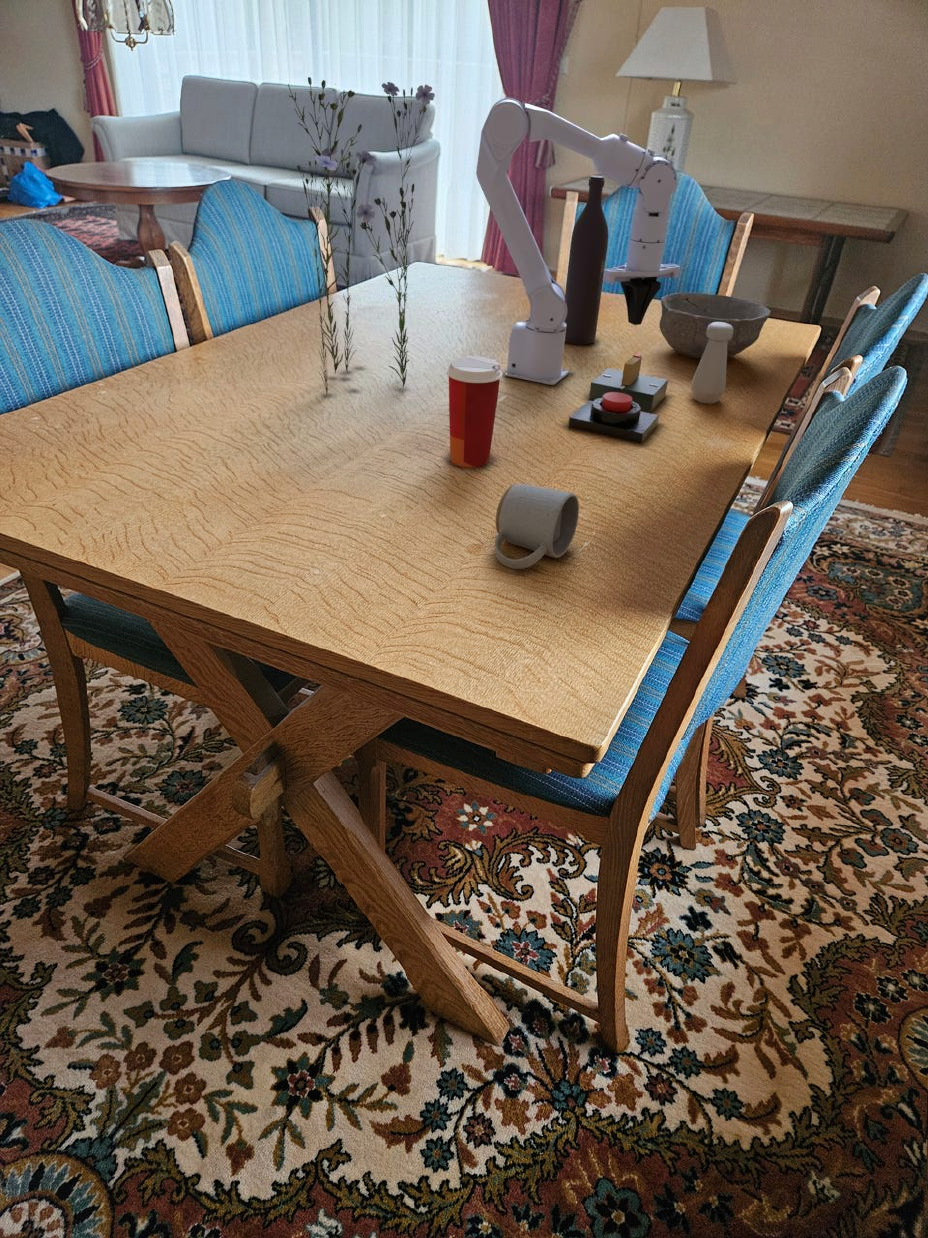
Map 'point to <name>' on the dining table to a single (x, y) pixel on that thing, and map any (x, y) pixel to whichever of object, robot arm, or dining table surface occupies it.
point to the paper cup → (472, 408)
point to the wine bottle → (586, 268)
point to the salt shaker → (712, 365)
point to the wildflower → (360, 213)
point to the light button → (616, 401)
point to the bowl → (709, 321)
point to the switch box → (614, 421)
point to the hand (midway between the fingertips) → (634, 323)
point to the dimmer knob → (631, 370)
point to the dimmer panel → (630, 388)
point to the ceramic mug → (535, 522)
